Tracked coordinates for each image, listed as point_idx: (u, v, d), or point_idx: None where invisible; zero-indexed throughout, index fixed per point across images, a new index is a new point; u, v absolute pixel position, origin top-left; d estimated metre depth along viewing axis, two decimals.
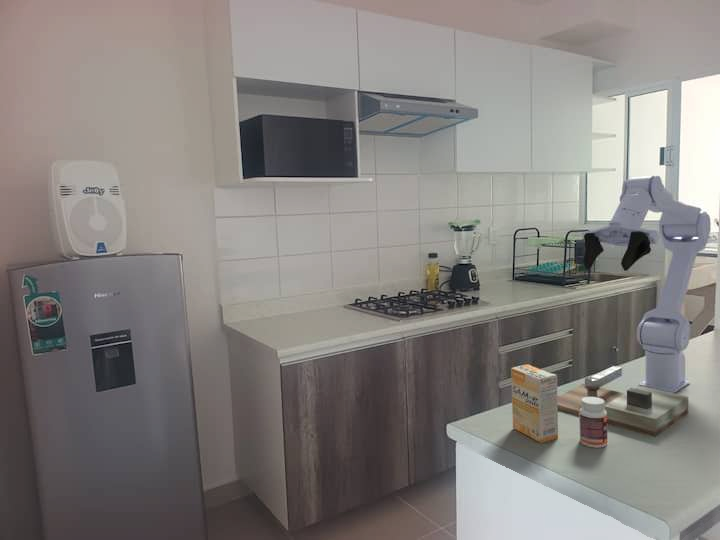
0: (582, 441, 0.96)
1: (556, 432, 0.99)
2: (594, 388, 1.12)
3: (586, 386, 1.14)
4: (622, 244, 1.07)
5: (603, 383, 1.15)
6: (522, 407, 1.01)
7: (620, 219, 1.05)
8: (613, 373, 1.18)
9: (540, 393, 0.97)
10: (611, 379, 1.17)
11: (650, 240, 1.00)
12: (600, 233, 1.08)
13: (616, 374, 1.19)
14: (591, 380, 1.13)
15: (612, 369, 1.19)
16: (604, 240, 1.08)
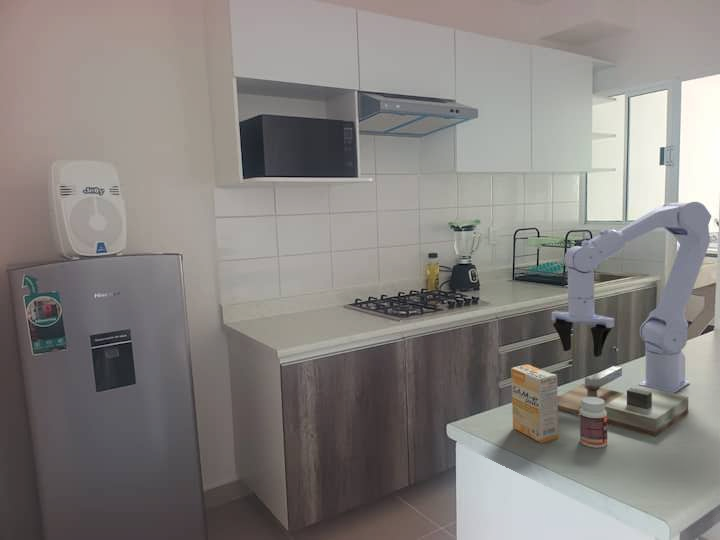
0: (582, 441, 0.96)
1: (556, 432, 0.99)
2: (594, 388, 1.12)
3: (586, 386, 1.14)
4: None
5: (603, 383, 1.15)
6: (522, 407, 1.01)
7: (576, 311, 1.19)
8: (613, 373, 1.18)
9: (540, 393, 0.97)
10: (611, 379, 1.17)
11: None
12: None
13: (616, 374, 1.19)
14: (591, 380, 1.13)
15: (612, 369, 1.19)
16: None
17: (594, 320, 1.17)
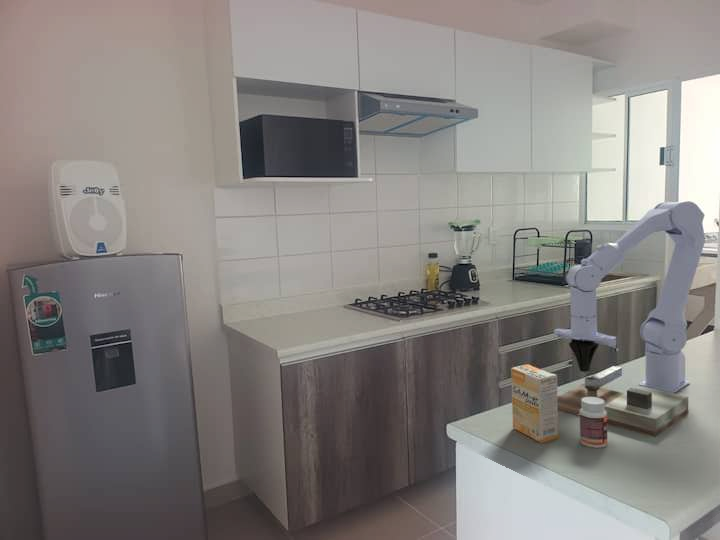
0: (582, 441, 0.96)
1: (556, 432, 0.99)
2: (594, 388, 1.12)
3: (586, 386, 1.14)
4: None
5: (603, 383, 1.15)
6: (522, 407, 1.01)
7: (579, 330, 1.20)
8: (613, 373, 1.18)
9: (540, 393, 0.97)
10: (611, 379, 1.17)
11: None
12: None
13: (616, 374, 1.19)
14: (591, 380, 1.13)
15: (612, 369, 1.19)
16: None
17: (596, 339, 1.18)
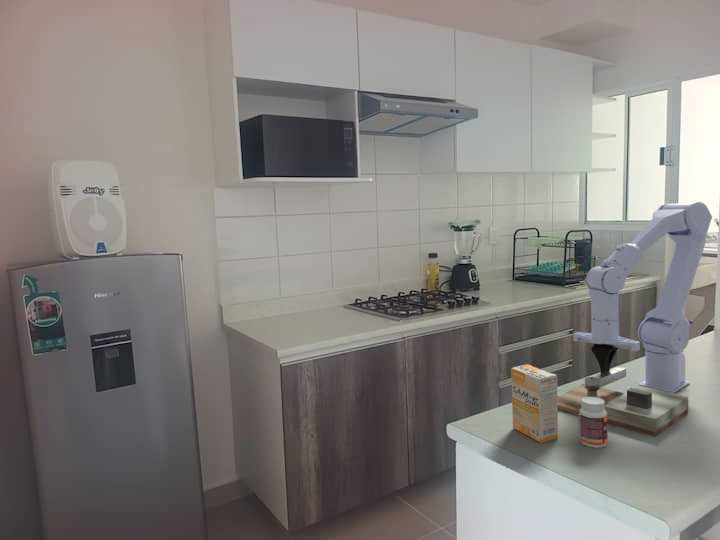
0: (582, 441, 0.96)
1: (556, 432, 0.99)
2: (593, 388, 1.12)
3: (586, 386, 1.14)
4: None
5: (604, 383, 1.15)
6: (522, 407, 1.01)
7: (600, 334, 1.16)
8: (616, 374, 1.17)
9: (540, 393, 0.97)
10: (613, 380, 1.17)
11: None
12: None
13: (619, 374, 1.18)
14: (591, 380, 1.13)
15: (615, 370, 1.19)
16: None
17: (619, 343, 1.14)
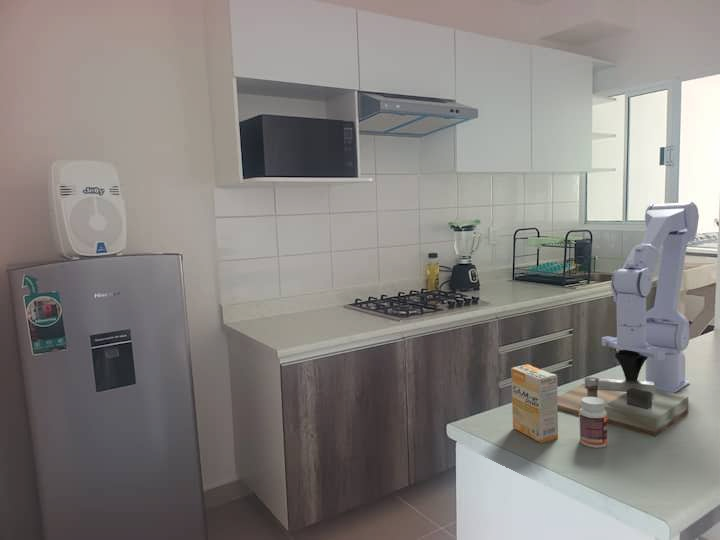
0: (582, 441, 0.96)
1: (556, 432, 0.99)
2: (587, 387, 1.13)
3: None
4: None
5: (607, 388, 1.12)
6: (522, 406, 1.01)
7: (623, 339, 1.10)
8: (632, 385, 1.10)
9: (540, 393, 0.97)
10: None
11: None
12: None
13: (639, 388, 1.09)
14: (588, 379, 1.14)
15: (639, 382, 1.10)
16: None
17: (641, 350, 1.07)
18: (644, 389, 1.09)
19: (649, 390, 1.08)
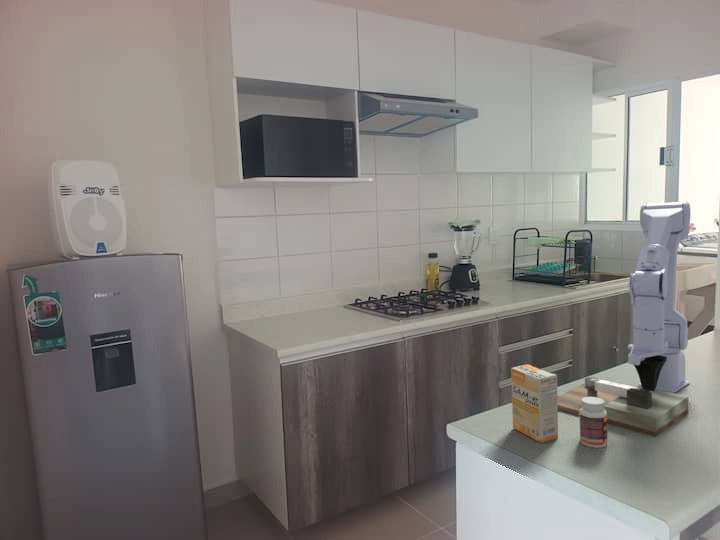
0: (582, 441, 0.96)
1: (556, 432, 0.99)
2: (585, 386, 1.14)
3: None
4: None
5: (604, 390, 1.11)
6: (522, 406, 1.01)
7: None
8: (626, 390, 1.07)
9: (540, 393, 0.97)
10: (621, 394, 1.08)
11: None
12: None
13: None
14: (588, 378, 1.14)
15: (635, 388, 1.06)
16: None
17: (631, 352, 1.07)
18: None
19: None
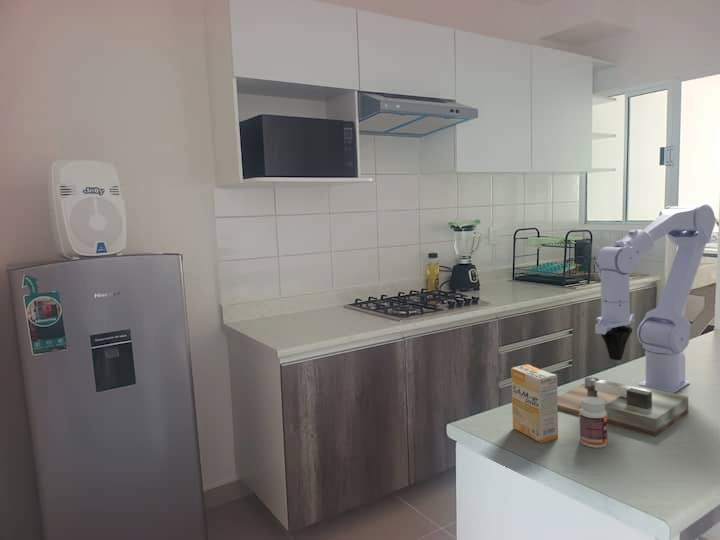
0: (582, 441, 0.96)
1: (556, 432, 0.99)
2: (585, 386, 1.14)
3: None
4: None
5: (604, 390, 1.11)
6: (522, 406, 1.01)
7: None
8: (626, 390, 1.07)
9: (540, 393, 0.97)
10: (621, 394, 1.08)
11: None
12: None
13: None
14: (588, 378, 1.14)
15: (635, 388, 1.06)
16: None
17: None
18: None
19: None
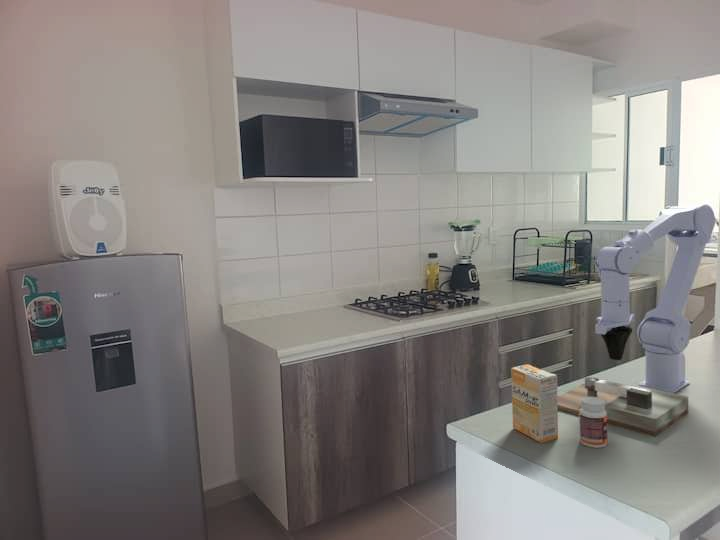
0: (582, 441, 0.96)
1: (556, 432, 0.99)
2: (585, 386, 1.14)
3: None
4: None
5: (604, 390, 1.11)
6: (522, 407, 1.01)
7: None
8: (626, 390, 1.07)
9: (540, 393, 0.97)
10: (621, 394, 1.08)
11: None
12: None
13: None
14: (588, 378, 1.14)
15: (635, 388, 1.06)
16: None
17: None
18: None
19: None
